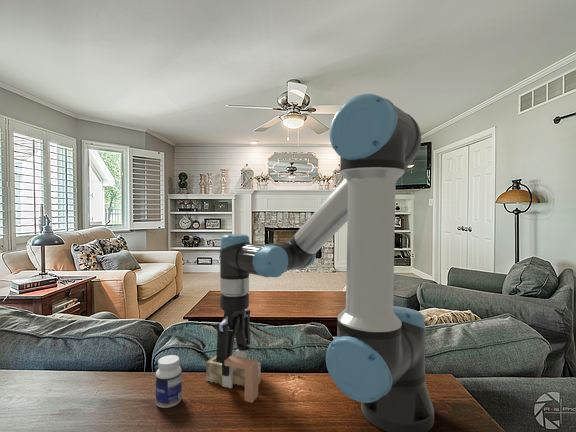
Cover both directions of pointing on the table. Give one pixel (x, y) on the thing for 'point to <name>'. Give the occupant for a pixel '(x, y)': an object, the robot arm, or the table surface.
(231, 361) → the keeper
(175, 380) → the pill bottle
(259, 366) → the link
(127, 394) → the table surface
